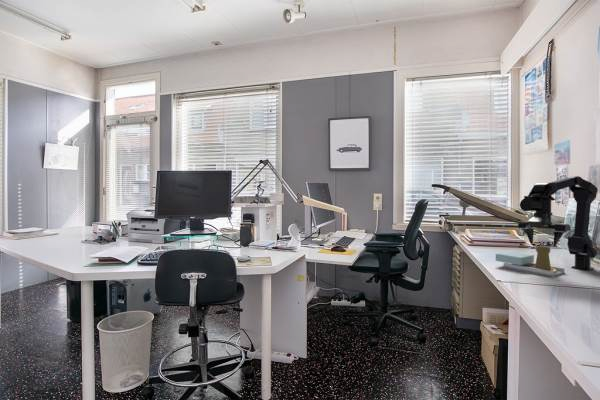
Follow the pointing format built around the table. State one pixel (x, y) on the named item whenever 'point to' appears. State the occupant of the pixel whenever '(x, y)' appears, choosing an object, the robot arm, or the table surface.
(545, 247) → the cork
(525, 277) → the table surface
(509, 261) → the cover
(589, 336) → the table surface
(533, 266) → the board
